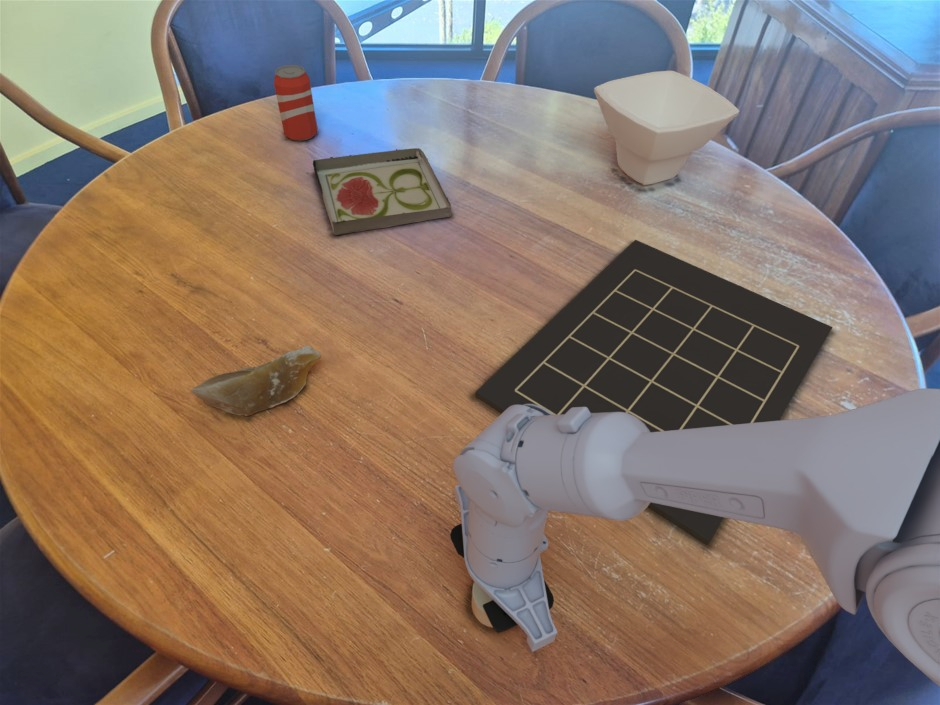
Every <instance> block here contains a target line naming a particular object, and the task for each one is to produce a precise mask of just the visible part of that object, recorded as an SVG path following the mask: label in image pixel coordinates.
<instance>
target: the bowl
mask: <svg viewBox="0 0 940 705" xmlns="http://www.w3.org/2000/svg"><path fill="white" fill-rule="evenodd" d="M593 93H594V95H595V97H596V100H597V103H598V106H599V109H600V111H601V114H602V116H603V117H602V118H603V119H604V122H605V124H606V127H607V130H608V132H609V133H610V134H611V135H612V137H613V138H614V141H615V151H616V161H617V165H618V167H619V168H620V170H621V171H622V172H623V173H624V174H626V175H627V176H628V177H629V178H631V179H632V180H634V181H635V182H637V183H639V184H641V185H644V186H646V185H653V184H654V185H655V184H657V183H661V182H664V181H667V180H671V179H673V178H675V177H676V176H677V175H679V173H680V171H682V168H683V167H684V166H685V164H686V163H687V161H688V160H689V158H690V157H691V155H692V154H693V153H694V152H696V151H697V150H700V149H702V148H703V147H704V146H706V145H707V144H708V143H709V142H710V141H711V140H712V139H713V138H714V137H715V136H716V135H718V134H719V133H720V132H721V131H722V130H723V129H724V128H725V127H726V126H727V125H728V124H730V123H731V121H733V120H734V119H735V118H736V117H737V116H739V114H740V110H739V108H738V107H736V106H735V105H734V104H733V103H732V102H731V101H730V100H728V99H727V98H726V97H725V96H723V95H722V94H720V93H719V92H717V91H715V90H714V89H712V88H711V87H709V86H707V85H706V84H704V83H701V82H700V81H698V80H695V79H693V78H692V77H690V76H688V75H685V74H682V73H680V72H677V71H675V70H659V71H651V72H646V73H640V74H635V75H630V76H626V77H622V78H617V79H613V80H609V81H607V82H604V83H601V84H599V85H597V86H595V87H594V88H593Z"/></svg>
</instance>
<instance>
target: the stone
mask: <svg viewBox="0 0 940 705" xmlns="http://www.w3.org/2000/svg"><path fill="white" fill-rule="evenodd" d="M321 358H322V353H321V352H320V351H317V350H316V349H315V348H313V347H311V346H310V345H305V346H303V347H301V348H299V349H295V350H291V351H289V352H285V354H283V355H280V356H279V357H277V358H274V359H272V360H271V361H268V362H267V363H264V364H259V365H257V366H249V367H245V368H242V369H239V370H236V371H232V372H226V373H221V374H217V375H215V376H212V377H210V378H208V379H205V380H204V381H203V382H201V383H200V384H199V385H197V386H195V387H193V388H192V389H191V390H190V392H191V394H193V395H194V396H195V397H196V398H198V399H199V400H201V401H202V402H204V403H205V404H207V405H208V406H210V407H212V408H213V407H214V408H215V409H219V410H221V411H223V412H226V413H229V414H232V415H236V416H245V417H248V416H252V415H254V414H257V413H259V412H261V411H265V410H268V409H273V408H274V407H276V406H278V405H281V404H285V403H287V402H288V401H290V400H292V399H293V398H296V397H297V396H298V394H299V393H300V392H301V391H302V390H303V388H304V387H305V386H306V385H307V376H308V373H309V372H310V371H311V370H312V368H313V367H314V365H315V364H316V363H317V362H318V361H319V360H320V359H321Z"/></svg>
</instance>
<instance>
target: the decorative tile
mask: <svg viewBox="0 0 940 705" xmlns="http://www.w3.org/2000/svg"><path fill="white" fill-rule="evenodd" d="M312 166H313V171H314V174H315V177H316V180H317V183H318V186H319V189H320V193H321V196H322V199H323V203H324V206H325V209H326V213H327V215H328V216H327V217H328V219H329V221H330V222H329V223H330V226H331V228H332V234H333V235H335V236H341V235H345V234H353V233H358V232H364V231H372V230H379V229H386V228H392V227H396V226H401V225H408V224H412V223H419V222H424V221H430V220H436V219H442V218H443V219H444V218H449V217H451V216H452V208H451V206H452V204H451V202H450V201H449V198H448V197H447V195H446V194H445V191H444V188H442V186H441V183H440V181H439V179H438V178H437V176H436V173H435V172H434V169H433V168H432V166H431V164H430V162H429V159H428V158H427V156H426V154H425V152H424V151H423V150H422V149H421V148H419V147H415V148H405V149H397V148H396V149H394V150H386V151H377V152H370V153H369V152H368V153H363V154H362V153H361V154H360V153H359V154H350V155H344V156H343V155H342V156H337V157H334V156H329V158H328V157H327V158H320V159H313V160H312Z"/></svg>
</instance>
